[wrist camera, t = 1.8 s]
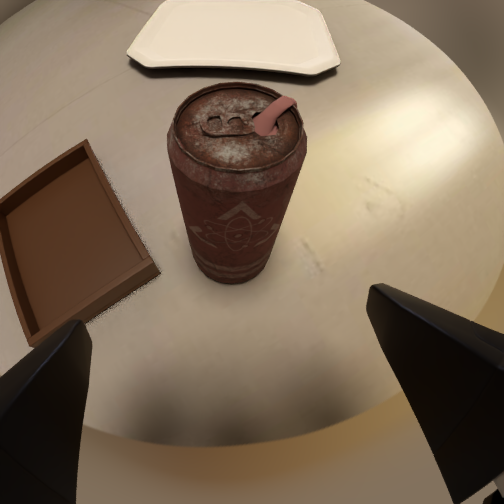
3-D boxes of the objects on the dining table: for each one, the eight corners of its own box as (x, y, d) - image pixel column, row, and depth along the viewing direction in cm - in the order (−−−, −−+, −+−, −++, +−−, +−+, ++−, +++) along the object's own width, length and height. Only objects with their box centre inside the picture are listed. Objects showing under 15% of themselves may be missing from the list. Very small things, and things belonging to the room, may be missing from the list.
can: (286, 247, 25) (342, 123, 12) (230, 301, 23) (236, 206, 10) (234, 200, 26) (243, 61, 13) (177, 247, 24) (136, 119, 11)
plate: (168, 3, 43) (167, -6, 41) (315, 11, 45) (317, 2, 42) (117, 81, 32) (113, 68, 30) (343, 92, 34) (348, 79, 32)
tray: (160, 273, 23) (153, 262, 21) (46, 350, 20) (29, 346, 17) (94, 154, 27) (86, 138, 25) (4, 218, 24) (-9, 206, 21)
